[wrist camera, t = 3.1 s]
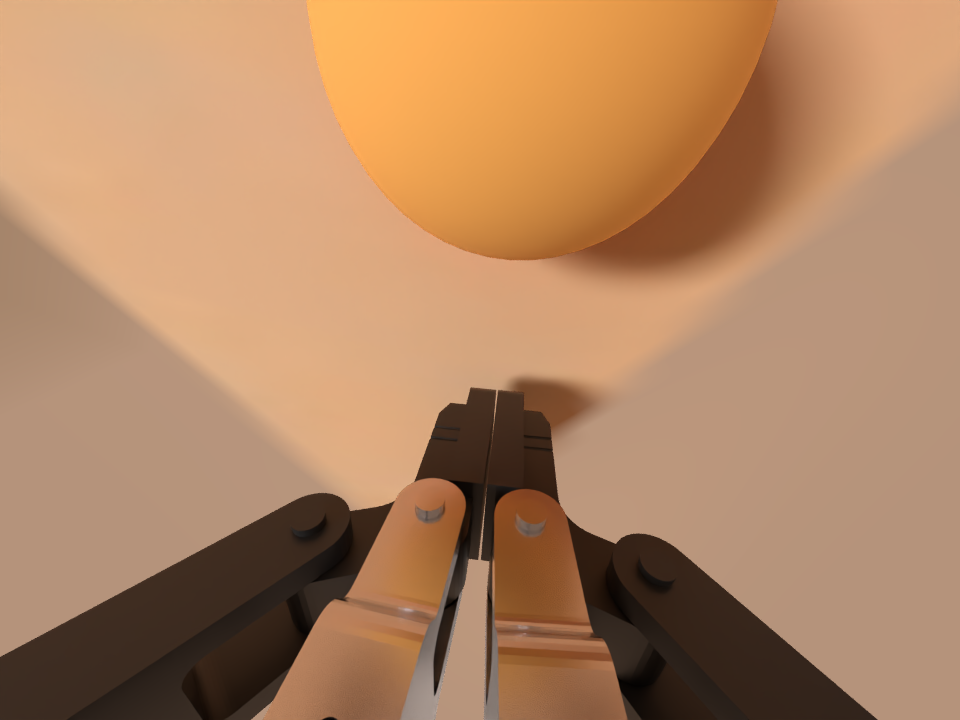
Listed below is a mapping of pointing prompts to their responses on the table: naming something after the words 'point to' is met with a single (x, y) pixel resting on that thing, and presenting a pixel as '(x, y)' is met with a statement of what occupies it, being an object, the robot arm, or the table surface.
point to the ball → (533, 108)
